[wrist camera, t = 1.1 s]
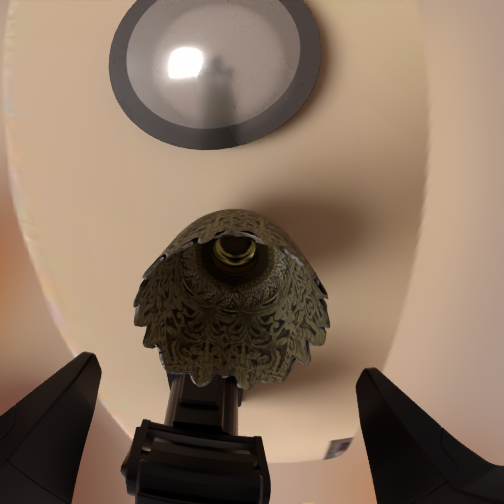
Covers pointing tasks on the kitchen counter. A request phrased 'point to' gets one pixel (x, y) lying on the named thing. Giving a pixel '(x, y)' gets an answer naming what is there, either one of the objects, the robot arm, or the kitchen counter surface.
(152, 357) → the kitchen counter surface
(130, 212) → the kitchen counter surface
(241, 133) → the gray-rimmed plate
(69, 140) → the kitchen counter surface
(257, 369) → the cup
